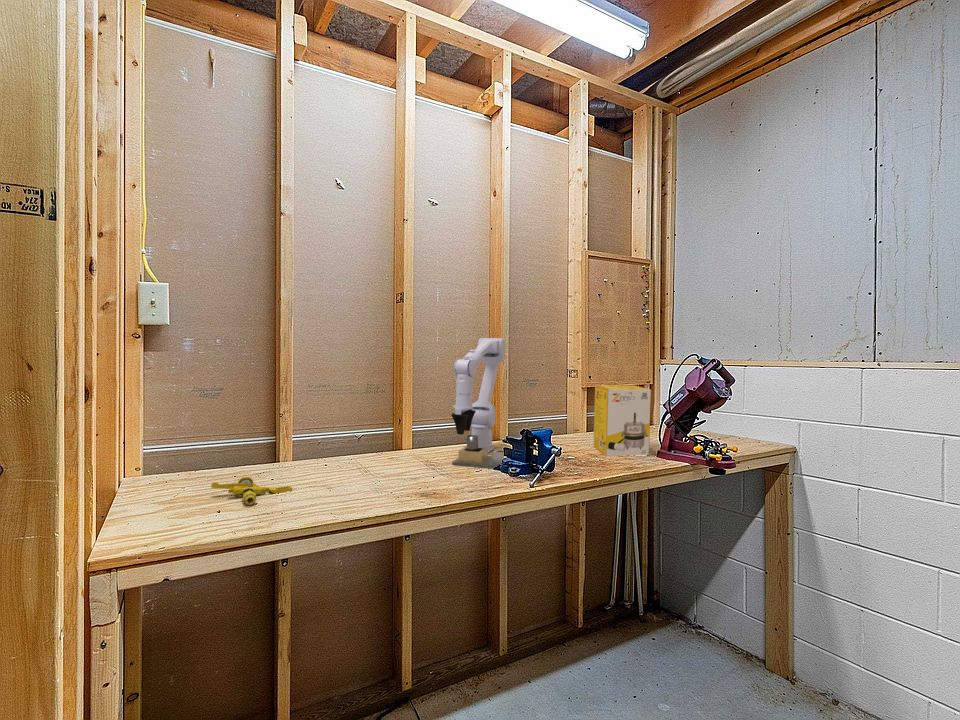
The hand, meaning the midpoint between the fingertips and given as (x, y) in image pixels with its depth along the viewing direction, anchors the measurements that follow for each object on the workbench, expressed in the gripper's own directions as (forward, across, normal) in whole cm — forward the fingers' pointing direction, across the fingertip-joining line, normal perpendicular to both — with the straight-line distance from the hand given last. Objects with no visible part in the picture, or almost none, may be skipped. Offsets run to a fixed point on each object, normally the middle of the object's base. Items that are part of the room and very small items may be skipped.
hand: (463, 432), depth 175 cm
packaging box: (+10, -32, +54) cm, 64 cm away
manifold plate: (+9, +4, +8) cm, 13 cm away
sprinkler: (+10, +58, -39) cm, 71 cm away
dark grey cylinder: (+8, +4, +4) cm, 10 cm away
